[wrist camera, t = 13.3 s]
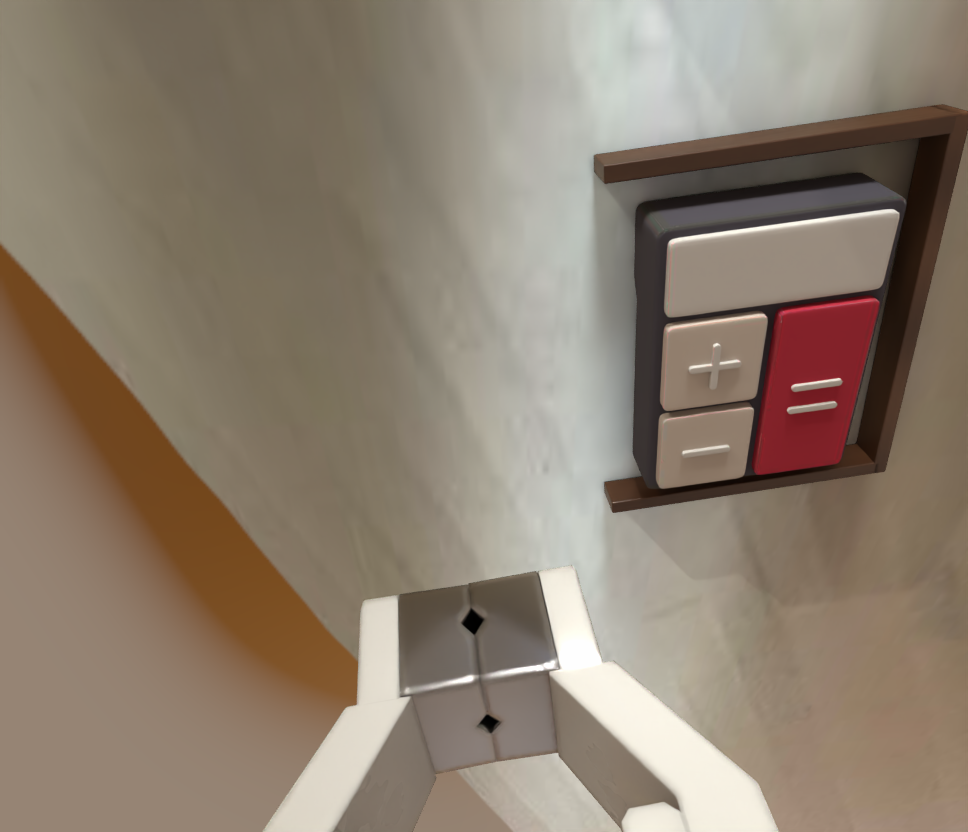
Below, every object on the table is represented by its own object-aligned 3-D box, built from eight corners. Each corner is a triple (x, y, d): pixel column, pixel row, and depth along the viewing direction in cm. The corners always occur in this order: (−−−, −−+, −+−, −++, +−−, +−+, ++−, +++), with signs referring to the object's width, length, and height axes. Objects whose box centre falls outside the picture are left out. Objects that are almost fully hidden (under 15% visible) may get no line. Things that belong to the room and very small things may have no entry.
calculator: (649, 501, 39) (662, 237, 30) (629, 451, 42) (634, 201, 33) (849, 472, 39) (921, 201, 30) (812, 425, 42) (867, 170, 33)
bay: (593, 154, 32) (604, 165, 30) (943, 103, 32) (973, 111, 31) (604, 492, 43) (612, 513, 41) (867, 451, 43) (885, 472, 41)
